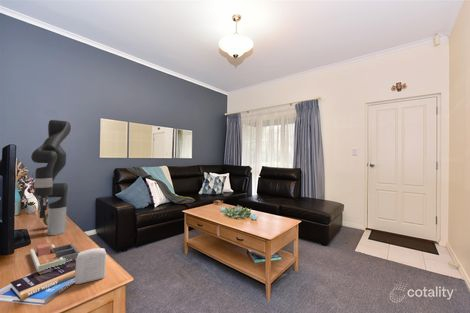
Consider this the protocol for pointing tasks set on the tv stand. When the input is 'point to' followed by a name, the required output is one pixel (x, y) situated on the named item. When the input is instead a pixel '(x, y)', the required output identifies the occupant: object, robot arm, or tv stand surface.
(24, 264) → the tv stand surface
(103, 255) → the photo printer
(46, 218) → the alarm clock
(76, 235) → the tv stand surface
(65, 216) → the robot arm
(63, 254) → the box
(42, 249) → the red block
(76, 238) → the tv stand surface
